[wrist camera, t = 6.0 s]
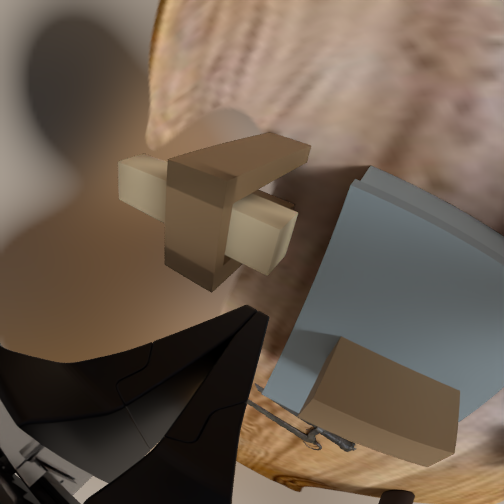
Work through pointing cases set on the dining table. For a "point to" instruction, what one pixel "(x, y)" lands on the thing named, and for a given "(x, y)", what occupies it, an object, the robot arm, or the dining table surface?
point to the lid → (396, 331)
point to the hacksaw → (310, 438)
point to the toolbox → (249, 181)
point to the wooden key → (241, 223)
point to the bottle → (397, 497)
